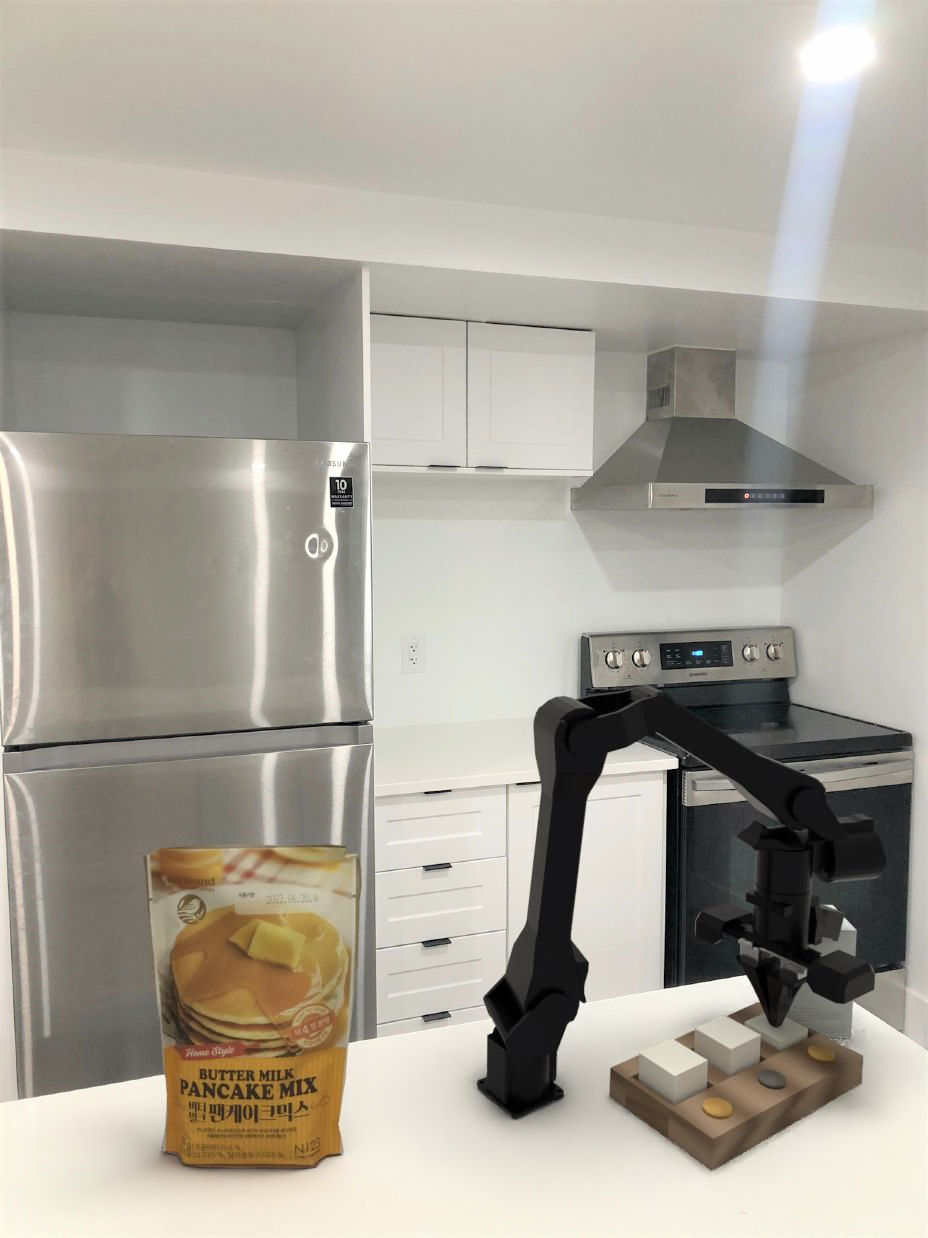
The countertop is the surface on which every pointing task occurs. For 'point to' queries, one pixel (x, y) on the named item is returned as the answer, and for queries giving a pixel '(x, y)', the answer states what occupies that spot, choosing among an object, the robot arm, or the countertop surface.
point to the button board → (743, 1095)
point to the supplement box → (820, 1010)
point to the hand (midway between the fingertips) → (775, 1025)
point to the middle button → (727, 1045)
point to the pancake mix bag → (254, 998)
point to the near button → (673, 1071)
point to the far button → (778, 1032)
